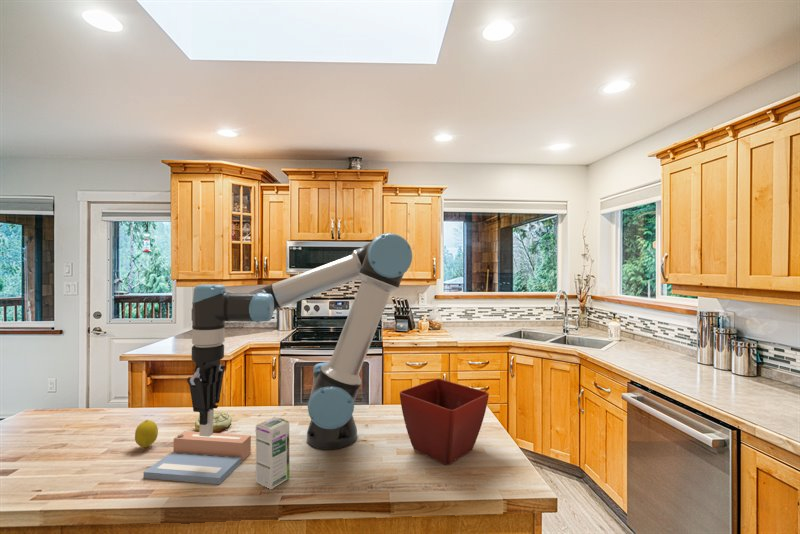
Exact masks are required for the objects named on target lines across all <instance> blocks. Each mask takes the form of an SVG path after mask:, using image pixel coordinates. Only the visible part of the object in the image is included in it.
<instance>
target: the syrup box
mask: <svg viewBox="0 0 800 534" xmlns="http://www.w3.org/2000/svg"><path fill="white" fill-rule="evenodd" d="M255 478H256V479H255V481H256V483H257V484H258V485H260V484H261V485H260V486H262V485H263V486H262V487H264V486H265V488H266V487H267V489H268V488H269V490H271V489H272V490H273V489H274V488H276V487H277V486H279V485H280V484H282V483H284V482H285V481H288V480H289V479H290V421H289V420H288V419H287V420H286V419H284V418H282V417H276V416H274V417H272V418H269V419H267V420H264V421H262V422H260V423H257V424H256V425H255Z"/></svg>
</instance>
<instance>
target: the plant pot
mask: <svg viewBox="0 0 800 534" xmlns="http://www.w3.org/2000/svg"><path fill="white" fill-rule="evenodd" d="M489 396H490V394H489V392H486V391H484V390H480V389H476V388H474V387H470V386H468V385H462V384H460V383H459V384H458V383H456V382H452V381H448V380H445V379H441V378H435V379H432V380H430V381H429V380H428V381H425V382H424V383H421V384H419V385H418V384H417V385H414V386H413V387H409V388H407V389H403V390H401V391H399V400H400V405H401V412H402V416H403V420H404V424H405V428H406V431H407V435H408V438H409V440H410V443H411V446H412V449H413V450H414V451H416V452H417V453H420V454H422V455H424V456H427V457H428V458H430V459H432V460H435V461H437V462H439V463H441V464H443V465H446V466H447V465H448V466H449V465H451V464H452V463H454V462H456V461H458V460H459V459H461V458H462V457H464V456H465V455H467V454H468V453H470V452H472V450H473V449H474V447H475V444H476V442H477V439H478V437H479V434H480V431H481V429H482V425H483V421H484V418H485V414H486V410H487V407H488V402H489V401H488V400H489Z"/></svg>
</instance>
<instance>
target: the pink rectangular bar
mask: <svg viewBox="0 0 800 534" xmlns="http://www.w3.org/2000/svg"><path fill="white" fill-rule="evenodd" d="M199 433H200V432H198V431H187V430H185V431H183V432H181V433H179V434H177V435H176V436H175V437H174V438H173V451H172V452H180V453H194V454H209V455H223V456H237V457H241V462H244V461H245V459H246V458H247V457H248V456H249V455H251V453H252V446H251V445H252V435H250V434H249V435H248V434H234V433H221V432H220V433H219V432H215V433H213V434H212V435H211V436H210V437H207V436H199Z"/></svg>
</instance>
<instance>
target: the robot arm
mask: <svg viewBox="0 0 800 534" xmlns="http://www.w3.org/2000/svg"><path fill="white" fill-rule="evenodd" d="M412 261H413V251H412V248H411V245H410V244H409V242H408V241H407V240H406V239H405V238H404V237H403V236H401V235H399V234H396V233H392V232H386V233H382V234H379V235H377V236H375V237H374V238H373V240H372V241H370V242H369V243H367V244H365V245H363V246H361V247H358V248H355V249H354V250H353V251H352V253H351V254H349V255H347V256H343V257H341V258H339V259H336V260H334V261H330V262H328V263H325V264H323V265H320V266H317V267H315V268H311V269H309V270H307V271H304V272H301V273H299V274H296V275H293V276H291V277H288V278H285V279H282V280H279V281H277V282H274V283H272V284H269V285H266V286H263V287H260V288H258V289H255V290H253V291H248V292H228V291H227V288H226V285H224V284H213V283H212V284H211V283H210V284H205V283H204V284H198V285H196V286H194V288H193V296H192V297H193V298H192V303H191V305H192V326H191V327H192V329H191V330H192V332H191V335H192V338H191V344H192V347H191V360H192V362H194V363H195V367H194V370H193V371H194V374H193V375H192V376H189V377H187V379H186V382H187V383H188V385H189V390H190V398H191V404H192V410H193V412H194V413H199V417H200V418H199V417H198V418H199V423H200V433H199V436H207V437H210V436H211V435H212V434H213V413H214V411H215V410H214V409H218V407H219V405H217V404H219V402H220V399H221V393H222V388H223V387H222V386H223V381H224V380H223V379H224V373H225V371H226V368H227V367H226V365H224V364H221V361H220V360H222V359H224V358H225V345H224V342H225V336H226V335H225V328H226V327H225V326H226V325H225V324H226V322H228V323H229V322H240V323H241V322H245V323H247V322H248V323H249V322H250V323H251V322H252V323H260V322H261V323H262V322H269V321H271V320H272V319H273V316H274V311H276V310H280V309H281V308H284V307H287V306H288V305H291V304H294V303H296V302H300V301H302V300H304V299H307V298H311V297H314V296H315V295H318V294H320V293H324V292H327V291H329V290H332V289H334V288H337V287H339V286H342V285H344V284H347V283H350V282H353V281H355V280H358V279H360V280H361V281H360V285H359V288H358V289H357V292H356V294H355V297H354V300H353V302H352V305H351V308H350V310H349V312H348V315H347V318H346V319H345V323H344V324H343V328H342V330H341V333H340V335H339V338H338V340H337V343H336V346H335V347H334V350H333V352H332V355H331V357H330V361H325V362H320V363H316V364H315V365H314V366H313V371H312V375H313V377H312V379H313V380H312V388H311V391H310V394H309V395H310V396H309V398H308V401H307V409H308V410H307V413H308V416H309V418H310V422H309V424H308V428H307V430H306V431H307V432H306V442H307V444H309V446H310V447H313V448H315V449H320V450H337V449H341V448H345V447H347V446H350V445H351V444H354V443H355V442H356V440H357V438H358V428H357V425H356V422H355V419H354V416H353V413H354V412H355V410H354V409H355V401H356V398H357V396H358V393H359V390H360V388H361V385H362V379H361V376H360V372H361V369H362V367H363V365H364V362H365V360H366V357H367V354H368V352H369V349H370V347H371V344H372V342H373V339H374V336H375V334H376V331H377V328H378V326H379V324H380V321H381V318H382V316H383V314H384V311H385V308H386V306H387V304H388V301H389V298H390V295H391V293H392V292H394V291H397V290H398V289H399V288H400V285H401V282H402V280H403V277H404V275H405V273H407V271H408V270H409V268H410V267H411V264H412Z"/></svg>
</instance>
